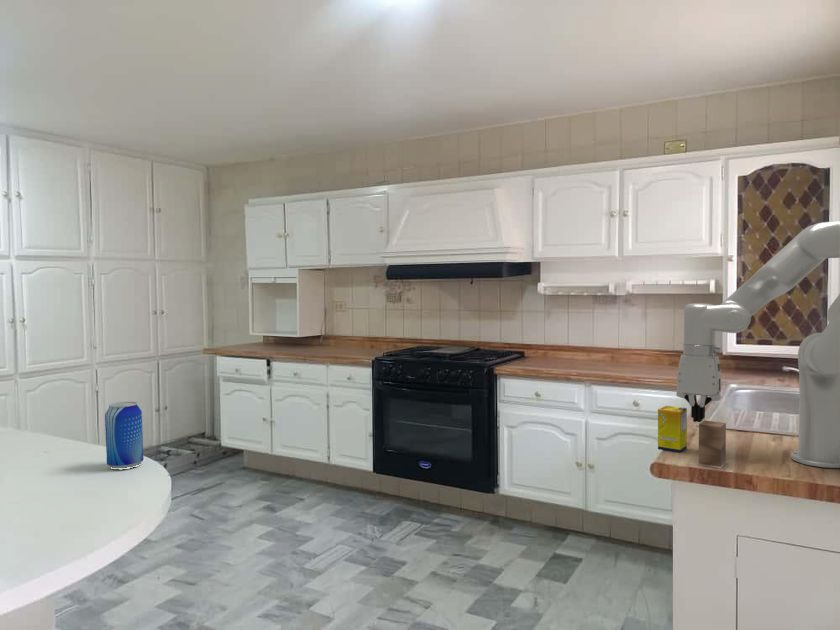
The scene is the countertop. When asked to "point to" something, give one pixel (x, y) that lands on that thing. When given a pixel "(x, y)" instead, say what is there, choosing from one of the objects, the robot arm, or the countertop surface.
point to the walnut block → (712, 444)
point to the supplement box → (672, 428)
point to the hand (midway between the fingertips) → (697, 421)
